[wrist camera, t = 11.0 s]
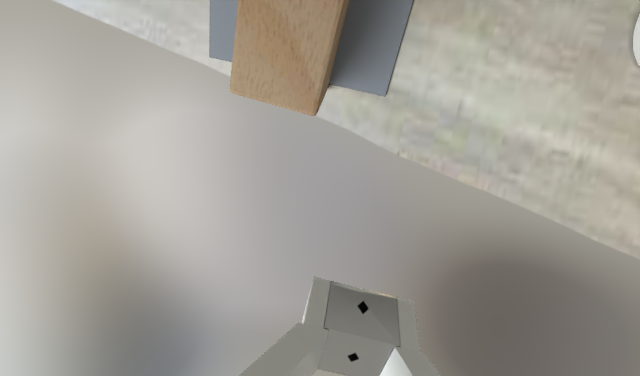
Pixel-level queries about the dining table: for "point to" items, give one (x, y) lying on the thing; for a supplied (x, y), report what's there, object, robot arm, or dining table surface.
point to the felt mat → (354, 46)
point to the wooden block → (286, 51)
